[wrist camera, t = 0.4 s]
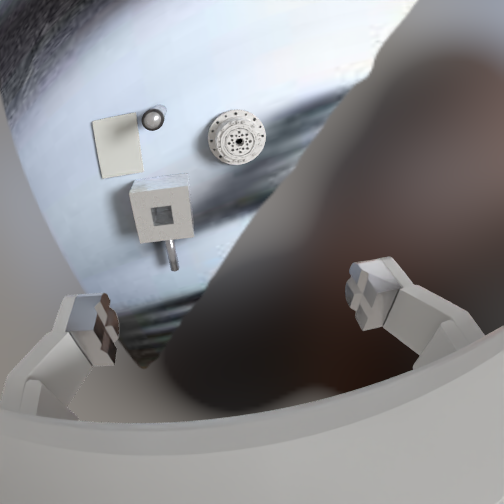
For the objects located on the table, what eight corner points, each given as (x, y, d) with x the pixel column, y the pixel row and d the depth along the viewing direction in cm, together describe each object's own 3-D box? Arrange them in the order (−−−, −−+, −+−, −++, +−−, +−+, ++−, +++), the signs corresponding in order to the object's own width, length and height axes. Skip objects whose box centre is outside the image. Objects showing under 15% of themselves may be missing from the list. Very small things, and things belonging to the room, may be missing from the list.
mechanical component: (210, 165, 51) (264, 159, 52) (211, 174, 48) (270, 167, 49) (205, 112, 45) (263, 107, 46) (206, 116, 42) (269, 111, 43)
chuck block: (134, 179, 49) (128, 193, 45) (188, 172, 51) (187, 185, 46) (152, 262, 61) (150, 280, 56) (198, 257, 62) (199, 275, 57)
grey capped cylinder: (149, 103, 42) (140, 111, 35) (168, 101, 42) (162, 108, 35) (151, 121, 44) (142, 132, 37) (169, 119, 44) (164, 129, 37)
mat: (93, 120, 41) (92, 121, 41) (136, 112, 42) (135, 112, 42) (103, 177, 48) (102, 178, 47) (144, 170, 49) (143, 172, 48)
